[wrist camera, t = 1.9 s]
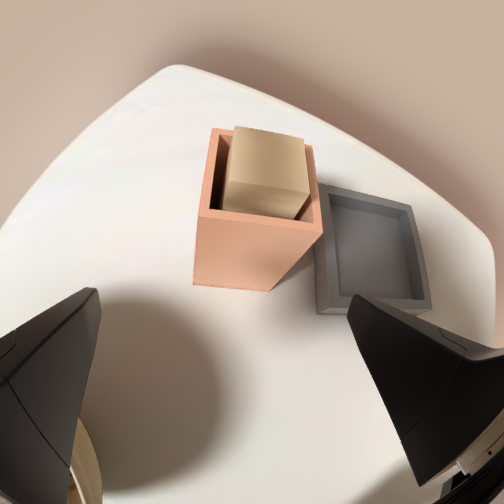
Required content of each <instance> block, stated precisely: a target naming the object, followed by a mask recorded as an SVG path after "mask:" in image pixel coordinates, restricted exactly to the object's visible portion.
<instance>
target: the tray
mask: <svg viewBox="0 0 504 504" xmlns="http://www.w3.org/2000/svg"><path fill="white" fill-rule="evenodd" d="M318 192H319V200H320V209H321V218H322V228H323V233H322V234H321V236H320V237H319V238H318V239H317V240H316V241H315V242H314V243H313V249H314V264H315V282H316V304H317V314H327V315H347V311H348V309H349V306H350V303H351V300H352V297H353V296H354V295H355V294H366V295H368V296H370V297H373V298H375V299H377V300H379V301H382V302H384V303H386V304H388V305H391V306H393V307H395V308H397V309H400V310H402V311H404V312H406V313H409V314H411V315H419V314H421V313H424V312H427V311H429V310H432V304H431V297H430V290H429V284H428V278H427V273H426V267H425V262H424V257H423V252H422V248H421V243H420V239H419V235H418V230H417V226H416V223H415V219H414V215H413V211H412V208H411V206H410V205H407V204H403V203H399V202H396V201H392V200H388V199H384V198H380V197H376V196H372V195H368V194H364V193H360V192H356V191H351V190H347V189H343V188H338V187H333V186H329V185H324V184H319V183H318Z"/></svg>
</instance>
